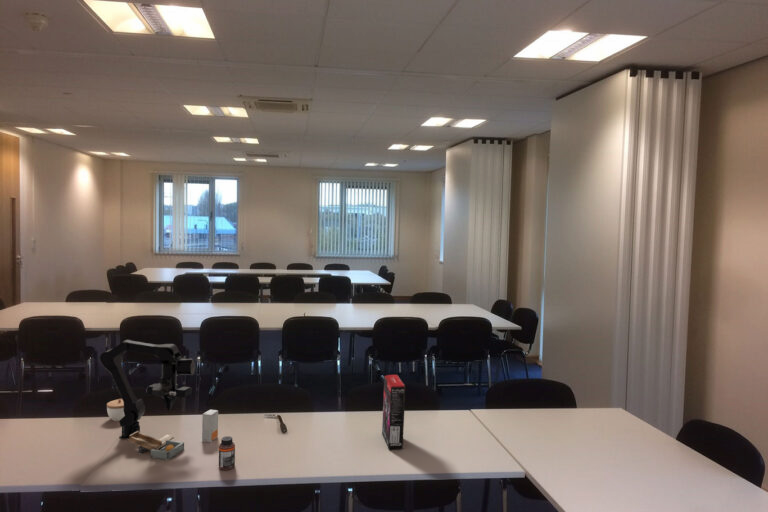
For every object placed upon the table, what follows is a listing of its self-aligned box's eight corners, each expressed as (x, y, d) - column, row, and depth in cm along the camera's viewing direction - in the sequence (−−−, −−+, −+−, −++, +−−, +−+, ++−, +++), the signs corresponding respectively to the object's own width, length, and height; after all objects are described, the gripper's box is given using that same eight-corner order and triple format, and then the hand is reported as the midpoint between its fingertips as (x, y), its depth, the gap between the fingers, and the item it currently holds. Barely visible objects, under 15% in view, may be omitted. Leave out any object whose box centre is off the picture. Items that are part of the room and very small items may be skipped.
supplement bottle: (220, 463, 198) (220, 434, 197) (236, 463, 199) (236, 434, 198) (216, 470, 192) (217, 441, 192) (233, 470, 193) (233, 441, 192)
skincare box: (211, 442, 217) (211, 414, 216) (201, 441, 218) (202, 414, 217) (218, 437, 223) (218, 410, 222) (209, 436, 224) (209, 409, 223)
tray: (150, 457, 202) (150, 450, 201) (166, 447, 211) (166, 440, 211) (168, 460, 200) (168, 452, 200) (184, 449, 210) (184, 442, 209)
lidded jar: (125, 423, 235) (125, 403, 235) (101, 422, 236) (101, 402, 235) (136, 414, 246) (136, 395, 246) (114, 414, 246) (114, 395, 246)
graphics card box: (381, 434, 231) (382, 374, 229) (396, 433, 232) (397, 374, 230) (388, 450, 214) (390, 386, 212) (404, 449, 215) (406, 385, 214)
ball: (172, 452, 203) (166, 455, 204) (177, 448, 206) (171, 452, 207) (168, 445, 203) (162, 448, 204) (173, 442, 207) (167, 445, 207)
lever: (128, 440, 207) (129, 435, 206) (149, 428, 219) (150, 423, 219) (153, 451, 204) (154, 445, 204) (173, 438, 217) (174, 433, 217)
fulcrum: (138, 453, 205) (138, 447, 205) (148, 447, 211) (148, 441, 211) (141, 453, 205) (141, 447, 205) (151, 447, 211) (151, 441, 211)
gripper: (137, 377, 214) (137, 414, 215) (176, 381, 210) (176, 418, 211) (155, 370, 225) (154, 405, 226) (192, 374, 221) (192, 409, 222)
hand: (169, 409), depth 221 cm, fingers closed
